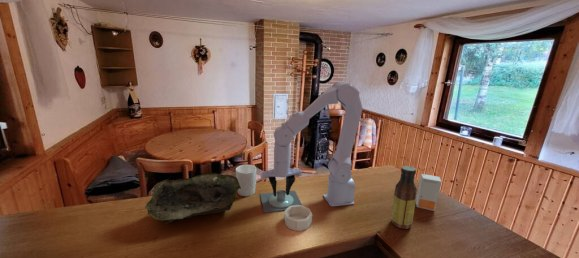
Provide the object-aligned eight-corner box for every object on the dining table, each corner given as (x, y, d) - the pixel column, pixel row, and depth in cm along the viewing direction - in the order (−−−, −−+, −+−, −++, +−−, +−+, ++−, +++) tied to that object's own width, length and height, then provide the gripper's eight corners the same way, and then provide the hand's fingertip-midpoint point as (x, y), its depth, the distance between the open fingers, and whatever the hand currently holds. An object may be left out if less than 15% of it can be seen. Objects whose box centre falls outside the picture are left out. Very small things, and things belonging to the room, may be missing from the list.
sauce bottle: (410, 220, 80) (420, 166, 74) (412, 232, 74) (424, 174, 69) (389, 216, 82) (397, 162, 76) (390, 227, 76) (399, 170, 71)
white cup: (258, 187, 97) (258, 165, 95) (253, 198, 90) (253, 174, 87) (239, 186, 98) (239, 163, 95) (233, 196, 90) (232, 172, 88)
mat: (294, 191, 95) (294, 190, 95) (303, 208, 84) (303, 207, 84) (260, 194, 92) (260, 193, 92) (264, 212, 81) (264, 211, 81)
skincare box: (416, 207, 87) (422, 178, 84) (415, 201, 91) (420, 173, 88) (435, 211, 85) (442, 181, 82) (433, 205, 89) (439, 176, 86)
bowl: (306, 213, 82) (306, 204, 81) (314, 229, 74) (315, 219, 73) (282, 216, 80) (282, 206, 79) (288, 232, 72) (288, 222, 71)
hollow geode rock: (240, 219, 85) (239, 178, 91) (242, 213, 74) (240, 167, 81) (152, 228, 77) (158, 183, 84) (140, 222, 67) (148, 171, 74)
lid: (289, 193, 93) (290, 184, 92) (296, 206, 85) (296, 197, 84) (266, 195, 91) (266, 186, 90) (271, 209, 82) (271, 200, 81)
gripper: (298, 154, 89) (297, 187, 93) (260, 156, 86) (260, 190, 90) (304, 162, 83) (302, 196, 86) (262, 164, 79) (262, 200, 83)
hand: (280, 194), depth 87 cm, fingers open, 4 cm apart
